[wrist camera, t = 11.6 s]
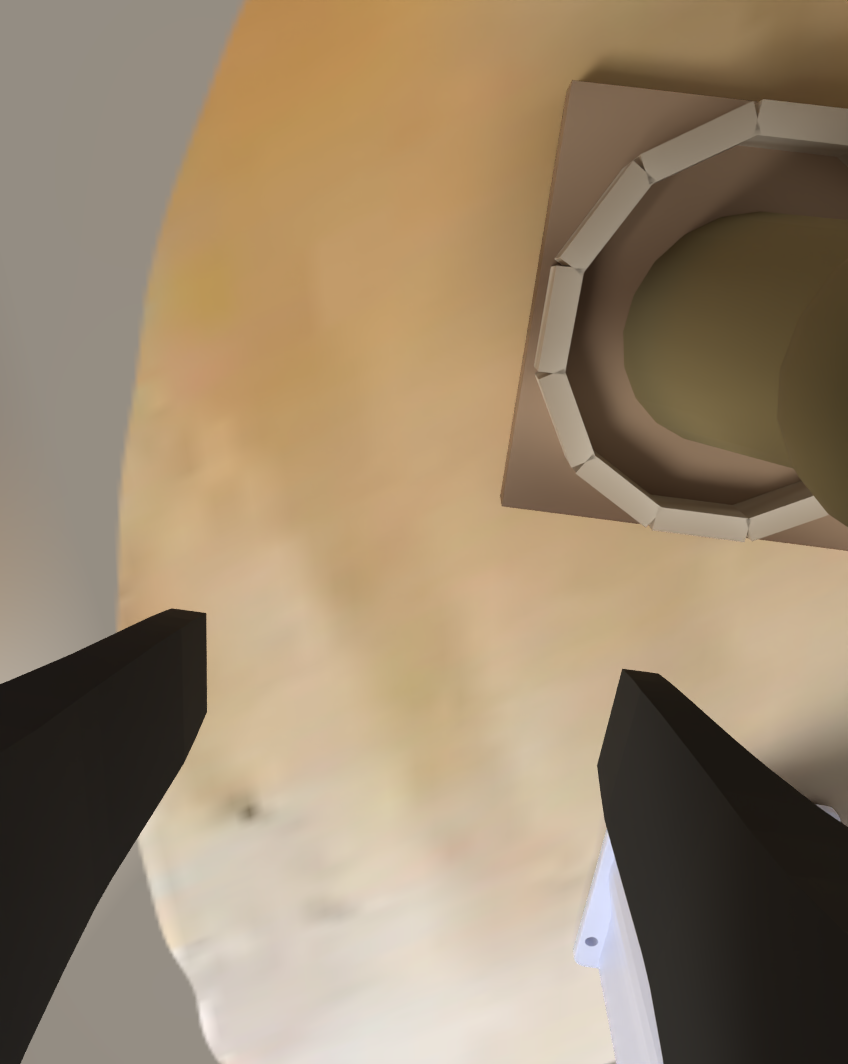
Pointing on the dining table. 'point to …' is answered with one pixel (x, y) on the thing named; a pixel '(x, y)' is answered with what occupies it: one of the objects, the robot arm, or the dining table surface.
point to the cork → (751, 344)
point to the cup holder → (606, 295)
